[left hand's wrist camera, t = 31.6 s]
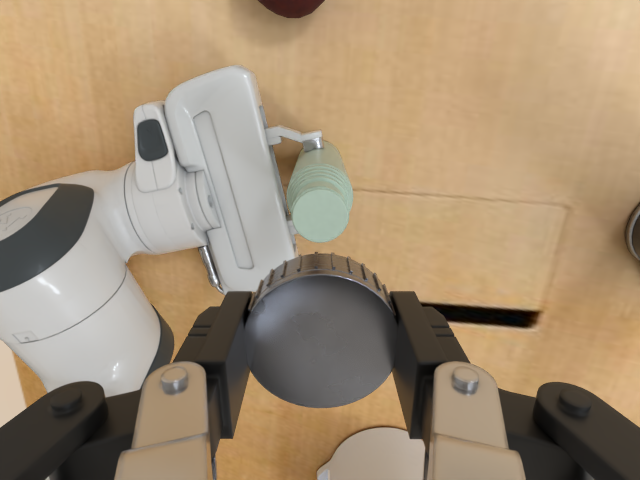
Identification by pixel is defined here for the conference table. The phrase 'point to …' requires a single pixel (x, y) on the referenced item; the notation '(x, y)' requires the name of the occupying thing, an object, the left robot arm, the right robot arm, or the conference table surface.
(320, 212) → the bottle
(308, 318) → the cap
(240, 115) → the right robot arm
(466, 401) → the left robot arm
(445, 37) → the conference table surface
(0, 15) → the conference table surface
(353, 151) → the conference table surface
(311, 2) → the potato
